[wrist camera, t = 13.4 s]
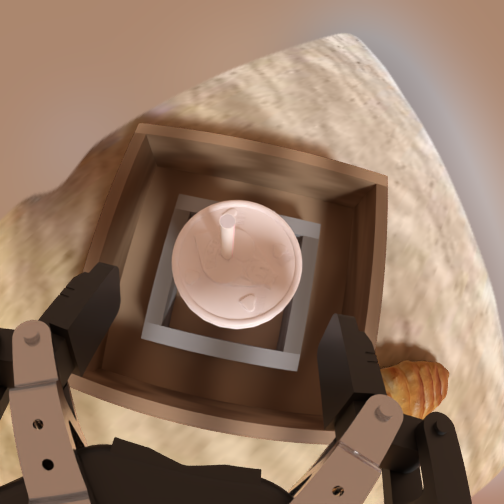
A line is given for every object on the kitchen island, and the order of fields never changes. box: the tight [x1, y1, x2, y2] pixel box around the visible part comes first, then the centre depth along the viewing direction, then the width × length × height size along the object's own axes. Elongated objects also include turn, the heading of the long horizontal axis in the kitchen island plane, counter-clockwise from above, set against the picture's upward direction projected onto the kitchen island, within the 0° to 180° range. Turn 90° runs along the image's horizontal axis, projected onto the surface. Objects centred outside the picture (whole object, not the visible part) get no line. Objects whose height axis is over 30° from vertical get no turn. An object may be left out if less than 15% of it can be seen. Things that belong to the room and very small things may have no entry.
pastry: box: [380, 360, 449, 419], centre depth 22 cm, size 9×7×4 cm
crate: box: [68, 123, 388, 445], centre depth 22 cm, size 20×20×6 cm
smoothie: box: [172, 200, 302, 329], centre depth 17 cm, size 6×6×14 cm
